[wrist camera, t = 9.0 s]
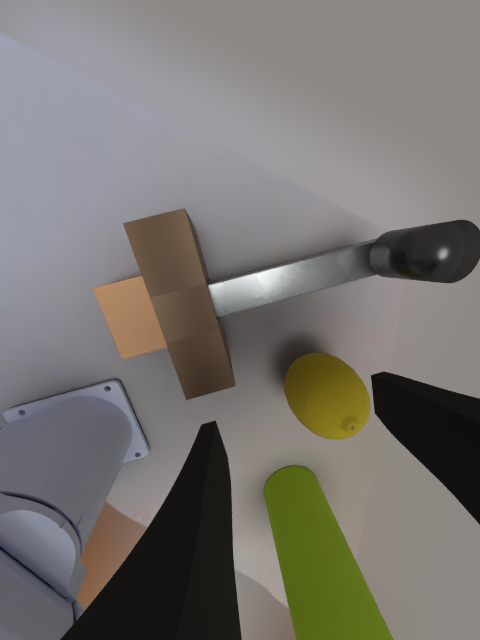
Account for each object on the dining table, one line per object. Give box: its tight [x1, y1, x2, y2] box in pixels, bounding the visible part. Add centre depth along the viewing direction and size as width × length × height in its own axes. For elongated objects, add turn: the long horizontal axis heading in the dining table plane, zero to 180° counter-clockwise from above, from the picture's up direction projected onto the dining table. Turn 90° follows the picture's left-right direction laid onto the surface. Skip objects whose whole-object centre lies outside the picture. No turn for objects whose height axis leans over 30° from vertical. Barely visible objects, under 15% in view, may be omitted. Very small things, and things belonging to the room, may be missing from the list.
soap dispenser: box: [264, 466, 393, 640], centre depth 16 cm, size 6×7×20 cm
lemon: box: [284, 353, 370, 440], centre depth 18 cm, size 6×6×8 cm
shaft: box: [207, 220, 480, 317], centre depth 13 cm, size 15×3×6 cm, turn 104°
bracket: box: [123, 208, 235, 400], centre depth 16 cm, size 3×10×6 cm, turn 14°
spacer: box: [92, 276, 167, 360], centre depth 17 cm, size 4×5×4 cm
